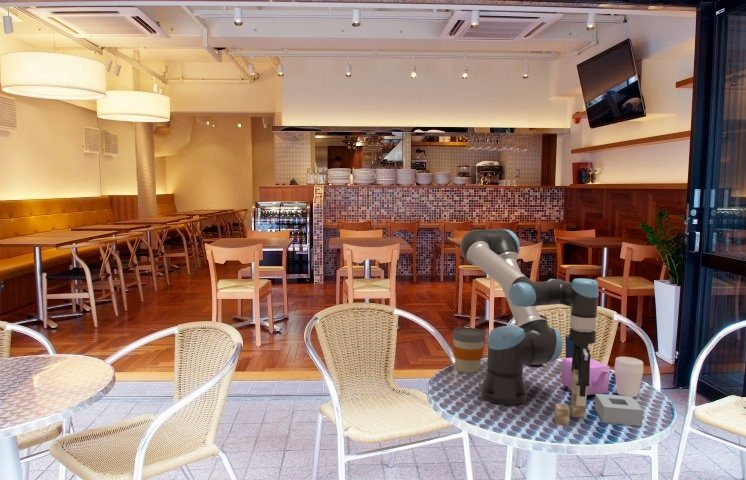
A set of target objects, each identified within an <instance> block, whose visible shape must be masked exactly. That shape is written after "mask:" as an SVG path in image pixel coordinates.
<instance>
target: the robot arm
mask: <svg viewBox="0 0 746 480" xmlns="http://www.w3.org/2000/svg"><path fill="white" fill-rule="evenodd" d="M520 243H521V242H520V240H519V238H518V236H517V235H516V233H514V231H512V230H510V229H503V228H497V229H485V228H484V229H483V228H482V229H479V228H478V229H477V228H476V229H473V230H469V231H468V232H466V233H465V234H464V235H463V237H462V238H461V240H460V244H459V250H460V253H461V256H462V257H463V259H465V261H467V262H468V263H469V264H470V265H472V266H477V267H478V268H479V269H481V271H483V272H484V273H485V274H487V275H488V276H489V277H490V278H492V279H493V280H494V281H496V283H497V284H499V285H500V287H501V289H502V291H503V294H504V297H505V299H506V301H507V304H508V306H509V309H510V311H511V313H512V316H513V319H514V321H515V324H516V325H515V326H514V325H510V326H508V325H503V326H498V327H495V328H493V329H492V330H491V331H490V332H489V335H488V342H487V346H488V347H487V362H486V363H487V364H486V365H487V368H486V374H485V377H484V380H483V383H482V384H481V385H482V386H481V389H480V396H481V398H483V400H485V401H487V402H490V403H492V404H495V405H496V404H497V405H504V406H519V405H522V404H524V403H526V402H527V400H528V392H527V387H526V385H525V381H524V377H523V373H524V371H523V370H524V366H529V365H530V366H533V365H532V364H540V363H544V364H547V363H552V362H555V361H557V360H558V358H560V356H561V354H562V352H563V351H562V350H563V348H564V347H563V346H564V345H563V344H564V342H563V337H562V335H561V332H560V331H559V330H558V329H556V328H555V327H550V325H549V323H548V320H547V321H546V319H544V318H541V317H540V315H541V314H540V313H539V311H538V309H537V306H552V305H553V306H554V305H563V306H566V307H569V308H570V316H569V318H570V319H569V320H570V321H569V327H570V329H569V334H570V335H569V339H570V340H571V341H572V342H573V356H572V368H571V371H572V374H573V369H576V370H578V383H576V385H577V399H576V405H577V406H585V407H586V406H587V396H588V395H587V386H589V377H590V358H591V357H592V354H591V353H590V352H591V351H590V349H589V345H592V344H594V343H595V342H596V334H597V332H596V331H595V330H596V329H597V323H599V319H598V318H597V317H598V316H597V315H598V303H599V302H598V301H599V296H600V294H599V283H598V281H596V280H595V279H592V278H582V277H581V278H574V279H572V282H570V281H566V280H562V279H559V278H558V279H556V278H550V279H548V280H547V281H533V280H531V279H530V277H527V276H526V275H525V274H523V273H522V271H521V269H520V267H519V265H518V262H517V260H518V259H519V255H520V250H521V248H520V246H521V244H520ZM591 359H592V358H591ZM572 382H573V377H572ZM570 397H572V393H571V396H570Z"/></svg>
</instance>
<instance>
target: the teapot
mask: <svg viewBox="0 0 746 480" xmlns="http://www.w3.org/2000/svg"><path fill="white" fill-rule="evenodd" d="M561 362H562V363H561V378H560V379H561V380H560V384H562V385H563V386H565V387H567V391H568V390H569V392H572V377H573V374H572V371H571V368H572V358H566V357H565V358H564V357H563V358H562V361H561ZM610 368H611V367H610V366H609V365H608V364H605V363H602V362H601V361H598V360H595V359H594V358H590V377H589V386H587V396H591V395H594V396H595V394H606V393H607V394H608V393H609V384H610V373H611V371H610Z"/></svg>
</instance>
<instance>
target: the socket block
mask: <svg viewBox="0 0 746 480" xmlns="http://www.w3.org/2000/svg"><path fill="white" fill-rule="evenodd" d="M594 396H595V398H594V410H595V412H596V414H597V415H598V417H599V418H600V420H601V422H602V423H603V424H611V425H622V426H623V425H624V426H634V427H642V426H643V416H644V415H643V414H644V410H643V409H642V407H641V406H640V405H639V403H638V402H637V401H636V400H635V399H634V397H630V396H622V395H619V394H618V395H616V394H615V395H614V394H606V393H600V394H595V395H594Z"/></svg>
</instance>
